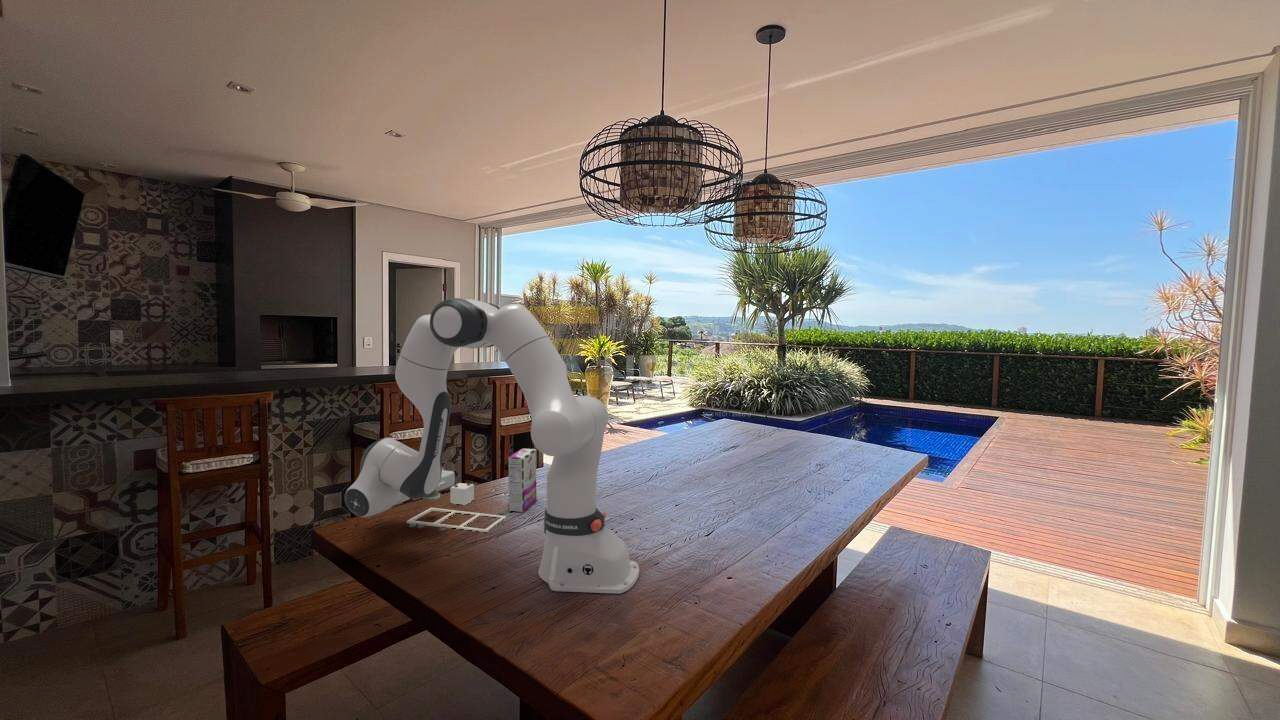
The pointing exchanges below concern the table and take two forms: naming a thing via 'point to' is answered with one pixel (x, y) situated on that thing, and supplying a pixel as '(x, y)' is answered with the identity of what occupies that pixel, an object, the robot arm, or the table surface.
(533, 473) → the candy bar box
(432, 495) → the pawn
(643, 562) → the table surface
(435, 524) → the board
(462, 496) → the die
